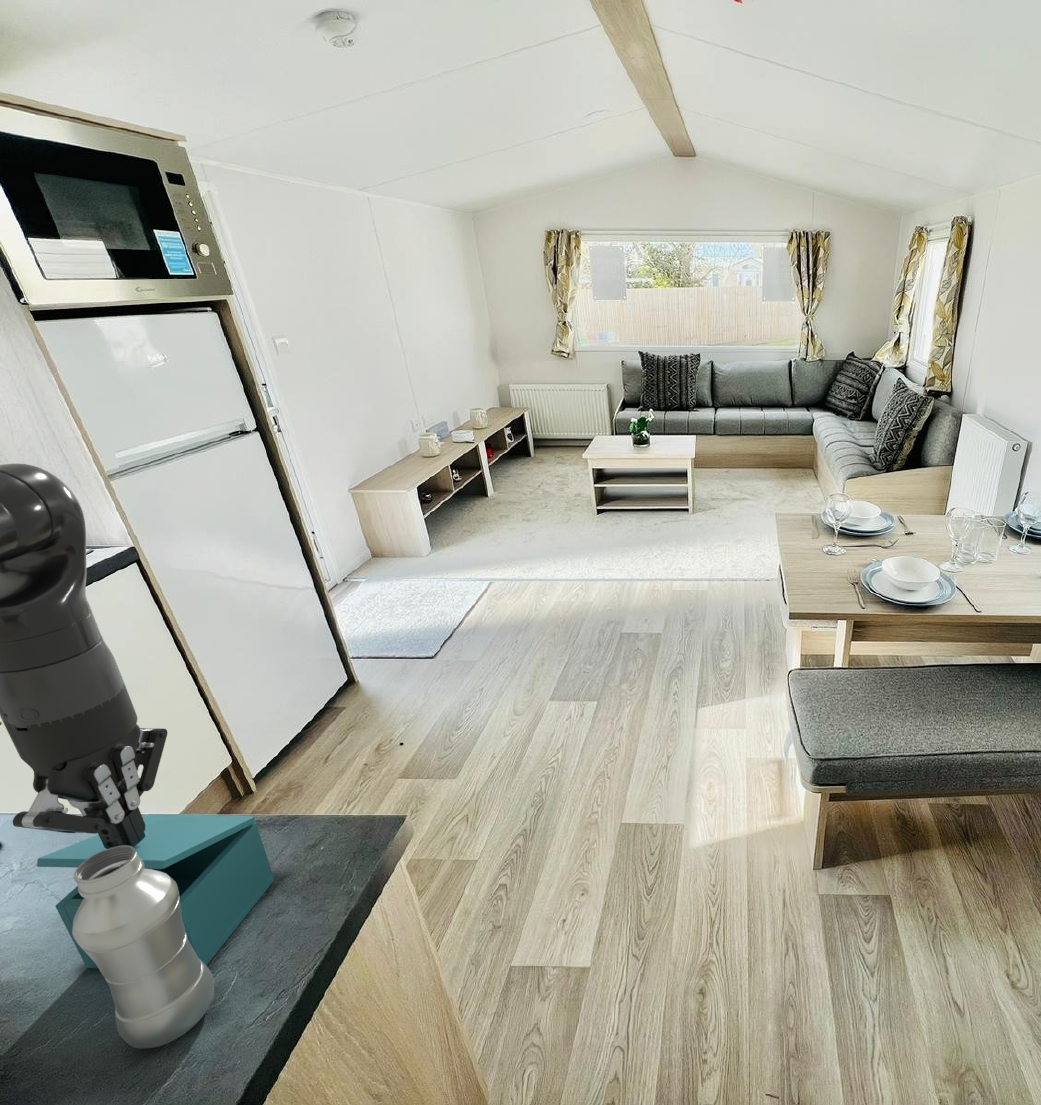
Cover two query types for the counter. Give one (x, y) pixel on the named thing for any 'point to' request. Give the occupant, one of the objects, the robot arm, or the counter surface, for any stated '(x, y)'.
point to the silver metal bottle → (140, 947)
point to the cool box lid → (159, 840)
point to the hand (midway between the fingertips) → (128, 844)
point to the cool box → (207, 891)
